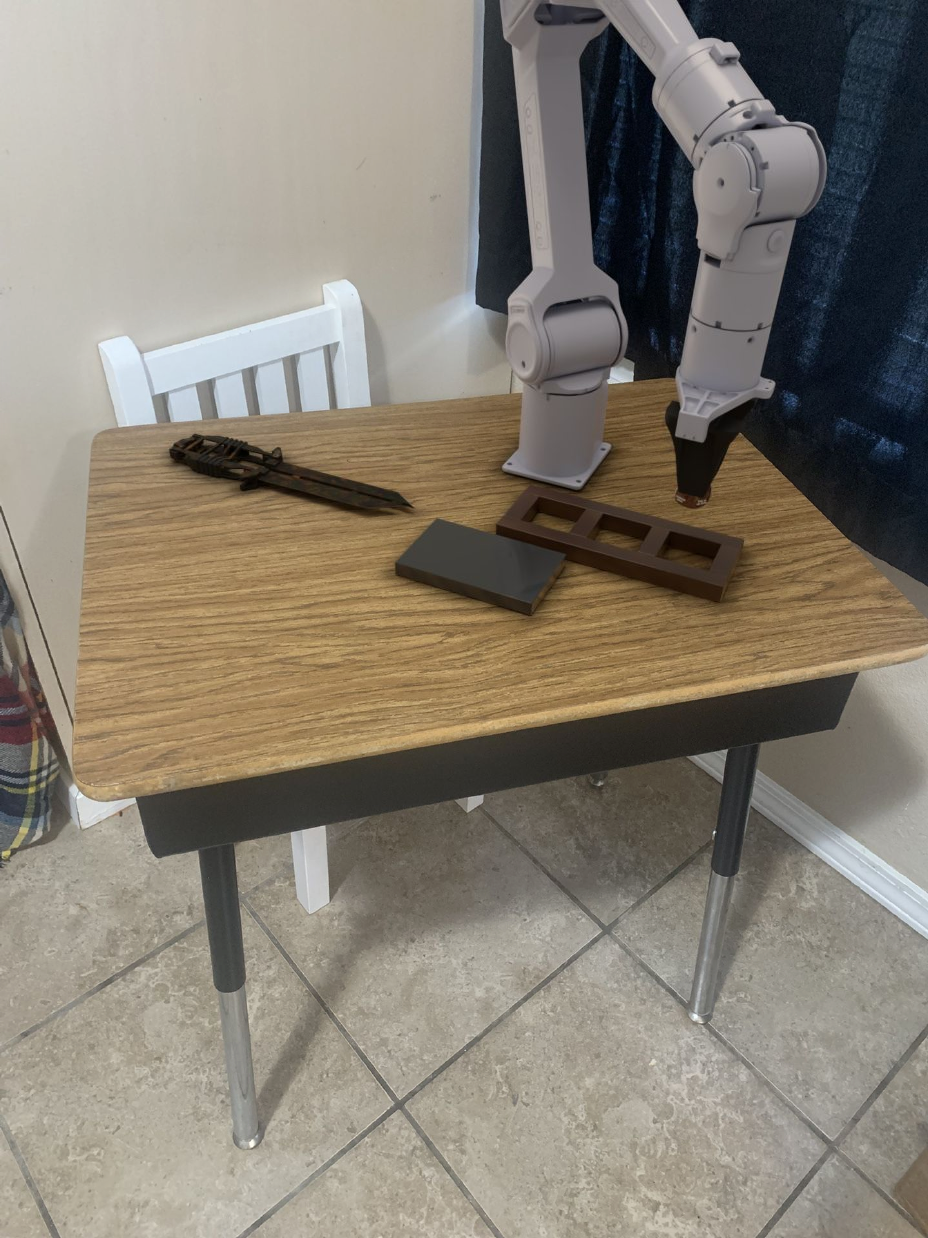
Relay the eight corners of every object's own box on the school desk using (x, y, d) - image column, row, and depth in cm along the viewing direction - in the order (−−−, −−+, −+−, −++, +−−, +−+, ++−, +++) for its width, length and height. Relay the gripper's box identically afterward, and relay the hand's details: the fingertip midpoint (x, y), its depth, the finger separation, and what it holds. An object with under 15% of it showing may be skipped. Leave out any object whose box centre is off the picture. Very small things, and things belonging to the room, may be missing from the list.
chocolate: (682, 519, 77) (690, 474, 74) (668, 504, 79) (676, 461, 76) (715, 513, 78) (724, 469, 75) (700, 498, 79) (709, 455, 77)
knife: (423, 507, 88) (423, 493, 87) (383, 541, 84) (383, 527, 83) (207, 435, 98) (205, 422, 97) (161, 462, 93) (159, 449, 92)
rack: (528, 498, 90) (529, 483, 89) (741, 554, 83) (744, 539, 82) (495, 539, 84) (496, 523, 83) (719, 602, 78) (723, 586, 77)
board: (436, 529, 85) (436, 517, 85) (565, 565, 81) (566, 554, 81) (394, 574, 80) (394, 562, 79) (531, 615, 76) (532, 603, 75)
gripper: (767, 365, 62) (725, 542, 71) (806, 293, 73) (766, 456, 81) (659, 343, 64) (631, 518, 73) (713, 277, 75) (683, 436, 83)
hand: (696, 484), depth 77 cm, fingers closed on chocolate, 2 cm apart
